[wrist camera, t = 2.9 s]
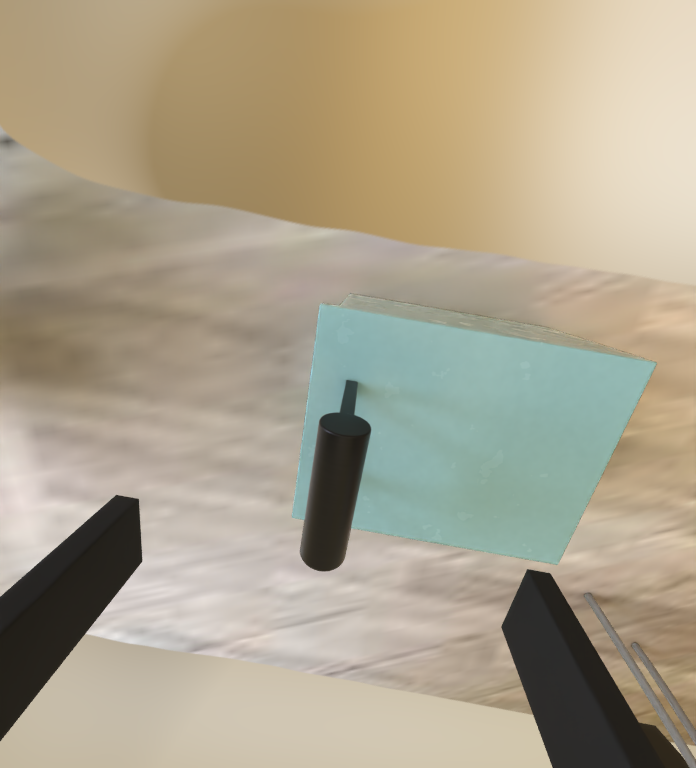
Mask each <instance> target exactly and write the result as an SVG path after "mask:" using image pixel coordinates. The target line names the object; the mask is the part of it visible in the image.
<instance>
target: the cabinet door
mask: <svg viewBox="0 0 696 768" xmlns="http://www.w3.org/2000/svg"><path fill="white" fill-rule="evenodd" d="M656 365H657V363H656V362H654V361H651V360H648V359H643V358H638V357H632V356H626V355H620V354H615V353H609V352H603V351H597V350H591V349H586V348H580V347H574V346H568V345H563V344H557V343H551V342H545V341H540V340H534V339H528V338H522V337H517V336H511V335H505V334H499V333H494V332H488V331H482V330H476V329H471V328H465V327H459V326H453V325H448V324H442V323H436V322H430V321H425V320H419V319H413V318H407V317H402V316H396V315H390V314H384V313H379V312H373V311H367V310H361V309H356V308H350V307H344V306H338V305H333V304H327V303H321V304H320V307H319V315H318V322H317V330H316V337H315V345H314V353H313V360H312V368H311V375H310V383H309V390H308V398H307V406H306V413H305V421H304V428H303V436H302V444H301V451H300V459H299V466H298V474H297V482H296V489H295V497H294V504H293V512H292V518H296V519H302V520H304V526H303V533H302V540H301V546H300V555H301V557H302V560H303V561H304V562H305V564H306V565H308V566H309V567H310V568H312V569H314V570H317V571H331V570H334V569H336V568H337V567H339V566H340V565H341V564H342V563H343V561H344V559H345V555H346V550H347V545H348V540H349V535H350V531H351V528H353V529H358V530H364V531H369V532H375V533H381V534H386V535H392V536H398V537H403V538H409V539H415V540H420V541H426V542H431V543H437V544H443V545H448V546H454V547H460V548H465V549H471V550H476V551H482V552H488V553H493V554H499V555H505V556H510V557H516V558H522V559H527V560H533V561H538V562H544V563H550V564H555V565H558V563H559V561H560V559H561V557H562V555H563V553H564V551H565V549H566V547H567V545H568V543H569V541H570V539H571V537H572V535H573V533H574V531H575V529H576V527H577V525H578V523H579V521H580V519H581V517H582V515H583V513H584V511H585V509H586V507H587V505H588V503H589V500H590V498H591V496H592V494H593V492H594V490H595V488H596V486H597V484H598V482H599V480H600V478H601V476H602V474H603V472H604V470H605V468H606V466H607V464H608V462H609V460H610V458H611V456H612V454H613V452H614V450H615V448H616V446H617V444H618V442H619V440H620V438H621V436H622V434H623V432H624V430H625V428H626V425H627V423H628V421H629V419H630V417H631V415H632V413H633V411H634V409H635V407H636V405H637V403H638V401H639V399H640V397H641V395H642V393H643V391H644V389H645V387H646V385H647V383H648V381H649V379H650V377H651V375H652V373H653V371H654V369H655V367H656Z"/></svg>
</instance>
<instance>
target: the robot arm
mask: <svg viewBox="0 0 696 768" xmlns="http://www.w3.org/2000/svg"><path fill="white" fill-rule="evenodd" d="M141 562H142V547H141V530H140V513H139V499H135V498H130V497H124V496H119V495H116V496H115V497H114V498H112V499H111V500H110V501H109V502H108V503H107V504H106V505H104V506H103V507H102V508H101V509H100V510H99V511H98V512H96V513H95V514H94V515H93V516H92V517H91V518H90V519H88V520H87V521H86V522H85V523H84V524H83V525H82V526H81V527H79V528H78V529H77V530H76V531H75V532H74V533H73V534H71V535H70V536H69V537H68V538H67V539H66V540H65V541H63V542H62V543H61V544H60V545H59V546H58V547H57V548H55V549H54V550H53V551H52V552H51V553H50V554H49V555H47V556H46V557H45V558H44V559H43V560H42V561H41V562H39V563H38V564H37V565H36V566H35V567H34V568H33V569H32V570H30V571H29V572H28V573H27V574H26V575H25V576H24V577H22V578H21V579H20V580H19V581H18V582H17V583H16V584H14V585H13V586H12V587H11V588H10V589H9V590H8V591H6V592H5V593H4V594H3V595H2V596H1V597H0V741H1V740H2V738H3V737H4V736H5V735H6V733H7V732H8V731H9V730H10V728H11V727H12V726H13V724H14V723H15V722H16V721H17V719H18V718H19V717H20V715H21V714H22V713H23V712H24V711H25V709H26V708H27V707H28V705H29V704H30V703H31V702H32V700H33V699H34V698H35V697H36V695H37V694H38V693H39V692H40V690H41V689H42V688H43V686H44V685H45V684H46V683H47V681H48V680H49V679H50V677H51V676H52V675H53V674H54V673H55V671H56V670H57V669H58V667H59V666H60V665H61V664H62V662H63V661H64V660H65V659H66V657H67V656H68V655H69V654H70V652H71V651H72V650H73V648H74V647H75V646H76V645H77V643H78V642H79V641H80V640H81V638H82V637H83V636H84V635H85V633H86V632H87V631H88V630H89V628H90V627H91V626H92V624H93V623H94V622H95V621H96V619H97V618H98V617H99V616H100V614H101V613H102V612H103V611H104V609H105V608H106V607H107V605H108V604H109V603H110V602H111V600H112V599H113V598H114V597H115V595H116V594H117V593H118V592H119V590H120V589H121V588H122V586H123V585H124V584H125V583H126V581H127V580H128V579H129V578H130V576H131V575H132V574H133V573H134V571H135V570H136V569H137V567H138V566H139V565H140V564H141ZM502 630H503V633H504V636H505V638H506V641H507V644H508V647H509V649H510V652H511V655H512V658H513V660H514V663H515V666H516V668H517V671H518V674H519V677H520V679H521V682H522V685H523V688H524V690H525V693H526V696H527V699H528V701H529V704H530V707H531V710H532V712H533V715H534V718H535V720H536V723H537V726H538V729H539V731H540V734H541V737H542V740H543V742H544V745H545V748H546V751H547V753H548V756H549V759H550V762H551V764H552V767H553V768H690V767H689V766H688V764H687V763H686V761H685V760H684V758H683V757H682V756H681V754H680V753H679V752H678V751H677V750H676V749H675V748H674V747H673V745H672V744H671V743H670V742H669V741H668V740H667V739H666V737H665V736H664V735H663V734H662V733H661V732H660V731H659V729H658V728H657V727H656V726H654V725H648V724H643V723H639V722H638V721H637V719H636V717H635V716H634V714H633V712H632V711H631V709H630V707H629V705H628V704H627V702H626V700H625V699H624V697H623V695H622V694H621V692H620V690H619V689H618V687H617V685H616V684H615V682H614V680H613V678H612V677H611V675H610V673H609V672H608V670H607V668H606V667H605V665H604V663H603V662H602V660H601V658H600V656H599V655H598V653H597V651H596V650H595V648H594V646H593V645H592V643H591V641H590V640H589V638H588V636H587V635H586V633H585V631H584V629H583V628H582V626H581V624H580V623H579V621H578V619H577V618H576V616H575V614H574V613H573V611H572V609H571V608H570V606H569V604H568V602H567V601H566V599H565V597H564V596H563V594H562V592H561V591H560V589H559V587H558V586H557V584H556V582H555V580H554V579H553V577H552V575H551V574H550V573H545V572H539V571H534V570H528V569H527V571H526V573H525V576H524V578H523V580H522V582H521V585H520V587H519V589H518V591H517V593H516V596H515V598H514V600H513V602H512V604H511V607H510V609H509V611H508V613H507V615H506V618H505V620H504V622H503V624H502Z"/></svg>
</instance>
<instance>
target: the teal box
mask: <svg viewBox="0 0 696 768" xmlns="http://www.w3.org/2000/svg"><path fill="white" fill-rule="evenodd" d="M339 306H344V307H350V308H356V309H361V310H367V311H373V312H379V313H384V314H390V315H396V316H402V317H407V318H413V319H419V320H425V321H430V322H436V323H442V324H448V325H453V326H459V327H465V328H471V329H476V330H482V331H488V332H494V333H499V334H505V335H511V336H517V337H522V338H528V339H534V340H540V341H545V342H551V343H557V344H563V345H568V346H574V347H580V348H586V349H591V350H597V351H603V352H609V353H615V354H620V355H626V356H632V357H638V358H642V357H639V356H636V355H633V354H630V353H626V352H623V351H620V350H617V349H614V348H611V347H608V346H605V345H601V344H598V343H595V342H592V341H589V340H586V339H583V338H580V337H576V336H573V335H570V334H567V333H564V332H561V331H558V330H555V329H551V328H548V327H542V326H537V325H531V324H525V323H519V322H514V321H508V320H502V319H496V318H491V317H485V316H479V315H473V314H467V313H462V312H456V311H450V310H444V309H439V308H433V307H427V306H421V305H416V304H410V303H404V302H398V301H393V300H387V299H381V298H375V297H370V296H364V295H358V294H352V293H350V294H349V295H348V296H347V297H346V298H345V300H344V301H343V302H342V303H341V304H340V305H339ZM643 359H645V358H643Z"/></svg>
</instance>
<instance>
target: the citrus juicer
mask: <svg viewBox="0 0 696 768" xmlns="http://www.w3.org/2000/svg"><path fill="white" fill-rule="evenodd" d="M584 597H585V598H586V600H587V601H588V603H589V605H590V606H591V608H592V609H593V611H594V612H595V614H596V616H597V617H598V619H599V620H600V622H601V623H602V625H603V627H604V628H605V630H606V631H607V633H608V635H609V636H610V638H611V639H612V641H613V643H614V644H615V646H616V647H617V649H618V651H619V652H620V654H621V655H622V657H623V659H624V660H625V662H626V664H627V665H628V667H629V668H630V670H631V672H632V673H633V675H634V676H635V678H636V680H637V681H638V683H639V684H640V686H641V688H642V689H643V691H644V693H645V694H646V696H647V698H648V699H649V701H650V702H651V704H652V706H653V707H654V709H655V711H656V712H657V714H658V716H659V717H660V719H661V720H662V722H663V724H664V725H665V727H666V729H667V730H668V732H669V734H670V735H671V737H672V739H673V740H674V742H675V744H676V745H677V747H678V749H679V750H680V752H681V754H682V755H683V757H684V759H685V761H686V762H687V764H688V766H689V767H690V768H696V759H695V758H694V756H693V755H692V753H691V751H690V750H689V748H688V746H687V745H686V743H685V741H684V740H683V738H682V737H681V735H680V733H679V732H678V730H677V728H676V727H675V725H674V724H673V722H672V720H671V719H670V717H669V715H668V714H667V712H666V711H665V709H664V707H663V706H662V704H661V703H660V701H659V699H658V698H657V696H656V695H655V693H654V691H653V690H652V688H651V687H650V685H649V683H648V682H647V680H646V679H645V677H644V675H643V674H642V672H641V671H640V669H639V667H638V666H637V664H636V663H635V661H634V660H633V658H632V656H631V655H630V653H629V652H628V650H627V649H626V647H625V645H624V644H623V642H622V641H621V639H620V638H619V636H618V634H617V633H616V631H615V630H614V628H613V627H612V625H611V624H610V622H609V620H608V619H607V617H606V616H605V614H604V613H603V611H602V610H601V608H600V607H599V605H598V604H597V602H596V601H595V599H594V598H593V596H592V595H591V594H590V593H587V594H585V595H584ZM632 647H633V649H634V650H635V652H636V653H637V655H638V656H639V658H640V659H641V660H642V662H643V663H644V665H645V666H646V668H647V669H648V671H649V673H650V674H651V676H652V677H653V679H654V680H655V682H656V683H657V685H658V686H659V688H660V689H661V691H662V692H663V694H664V696H665V697H666V699H667V700H668V702H669V703H670V705H671V707H672V708H673V710H674V711H675V713H676V714H677V716H678V718H679V719H680V721H681V722H682V724H683V726H684V727H685V729H686V731H687V732H688V734H689V735H690V737H691V739H692V740H693V742H694V743H695V745H696V730H695V728H694V726H693V725H692V723H691V722H690V720H689V719H688V717H687V716H686V714H685V712H684V711H683V709H682V708H681V706H680V705H679V703H678V702H677V700H676V699H675V697H674V696H673V694H672V693H671V691H670V690H669V688H668V686H667V685H666V683H665V682H664V680H663V679H662V677H661V676H660V674H659V673H658V672H657V670H656V669H655V667H654V666H653V664H652V663H651V661H650V660H649V658H648V657H647V656H646V654H645V653H644V652H643V650H642V649H641V647H640V646H639V645H638V644H637V643H633V644H632Z"/></svg>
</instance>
